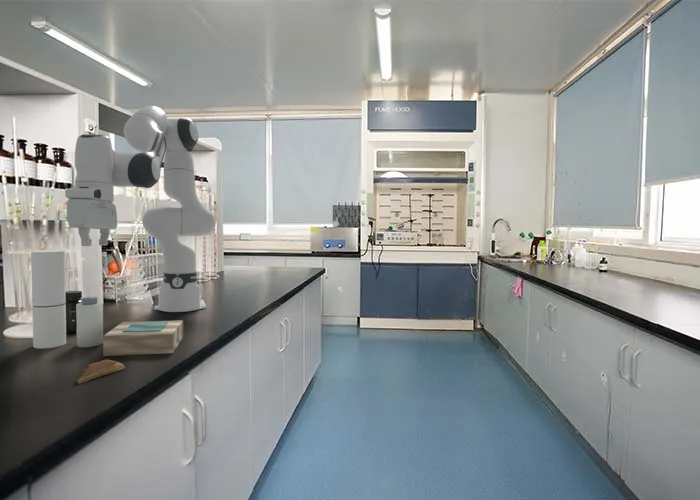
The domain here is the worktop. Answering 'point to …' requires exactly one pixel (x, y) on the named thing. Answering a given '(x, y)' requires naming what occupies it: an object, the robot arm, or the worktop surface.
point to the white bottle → (89, 322)
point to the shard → (99, 370)
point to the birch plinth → (143, 338)
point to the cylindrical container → (48, 298)
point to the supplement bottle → (72, 310)
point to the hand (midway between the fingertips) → (95, 245)
